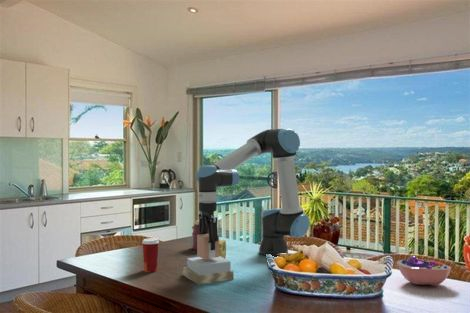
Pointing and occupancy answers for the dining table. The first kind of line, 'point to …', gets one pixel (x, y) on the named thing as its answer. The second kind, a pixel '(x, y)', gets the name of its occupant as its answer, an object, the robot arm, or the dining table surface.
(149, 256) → the paper cup
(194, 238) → the canister
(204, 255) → the terracotta block
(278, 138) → the robot arm
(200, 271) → the tower top
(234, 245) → the dining table surface
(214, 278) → the tower base
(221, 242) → the cheese
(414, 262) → the cell model
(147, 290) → the dining table surface
